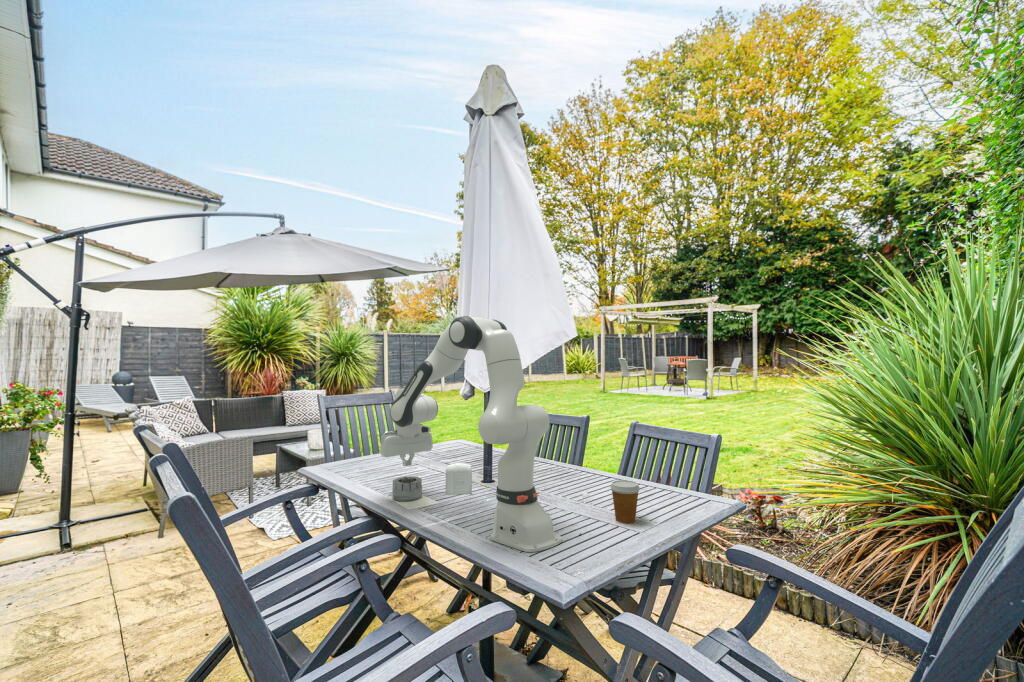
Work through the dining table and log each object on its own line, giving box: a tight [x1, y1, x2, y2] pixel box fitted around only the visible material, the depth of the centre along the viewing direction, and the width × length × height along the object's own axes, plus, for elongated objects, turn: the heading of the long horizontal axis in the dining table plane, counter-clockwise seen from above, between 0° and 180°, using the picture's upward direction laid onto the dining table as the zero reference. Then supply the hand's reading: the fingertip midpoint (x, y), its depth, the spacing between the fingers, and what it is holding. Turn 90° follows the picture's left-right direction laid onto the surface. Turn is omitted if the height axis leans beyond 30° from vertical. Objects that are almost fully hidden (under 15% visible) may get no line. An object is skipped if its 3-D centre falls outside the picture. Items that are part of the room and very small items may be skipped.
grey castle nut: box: [391, 475, 423, 502], centre depth 184 cm, size 11×11×6 cm
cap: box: [400, 476, 414, 483], centre depth 184 cm, size 5×5×4 cm
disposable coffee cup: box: [609, 479, 641, 524], centre depth 160 cm, size 10×10×12 cm
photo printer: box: [445, 462, 473, 496], centre depth 190 cm, size 10×4×12 cm, turn 98°
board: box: [386, 494, 439, 511], centre depth 181 cm, size 19×12×1 cm, turn 38°
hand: (407, 465), depth 184 cm, fingers closed
